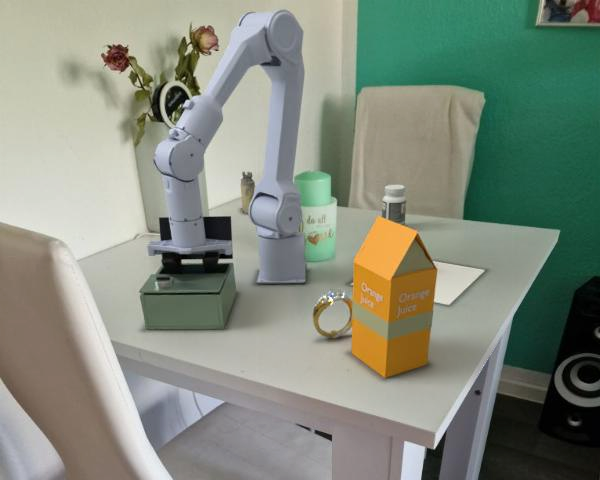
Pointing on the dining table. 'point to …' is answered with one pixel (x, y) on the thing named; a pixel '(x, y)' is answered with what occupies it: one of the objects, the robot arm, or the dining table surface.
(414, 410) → the dining table surface
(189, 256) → the lid
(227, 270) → the washer
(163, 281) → the white disc with bar
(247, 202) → the brown furry upright figure
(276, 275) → the robot arm
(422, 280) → the orange juice
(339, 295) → the gold ring
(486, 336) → the dining table surface
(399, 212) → the pill bottle
